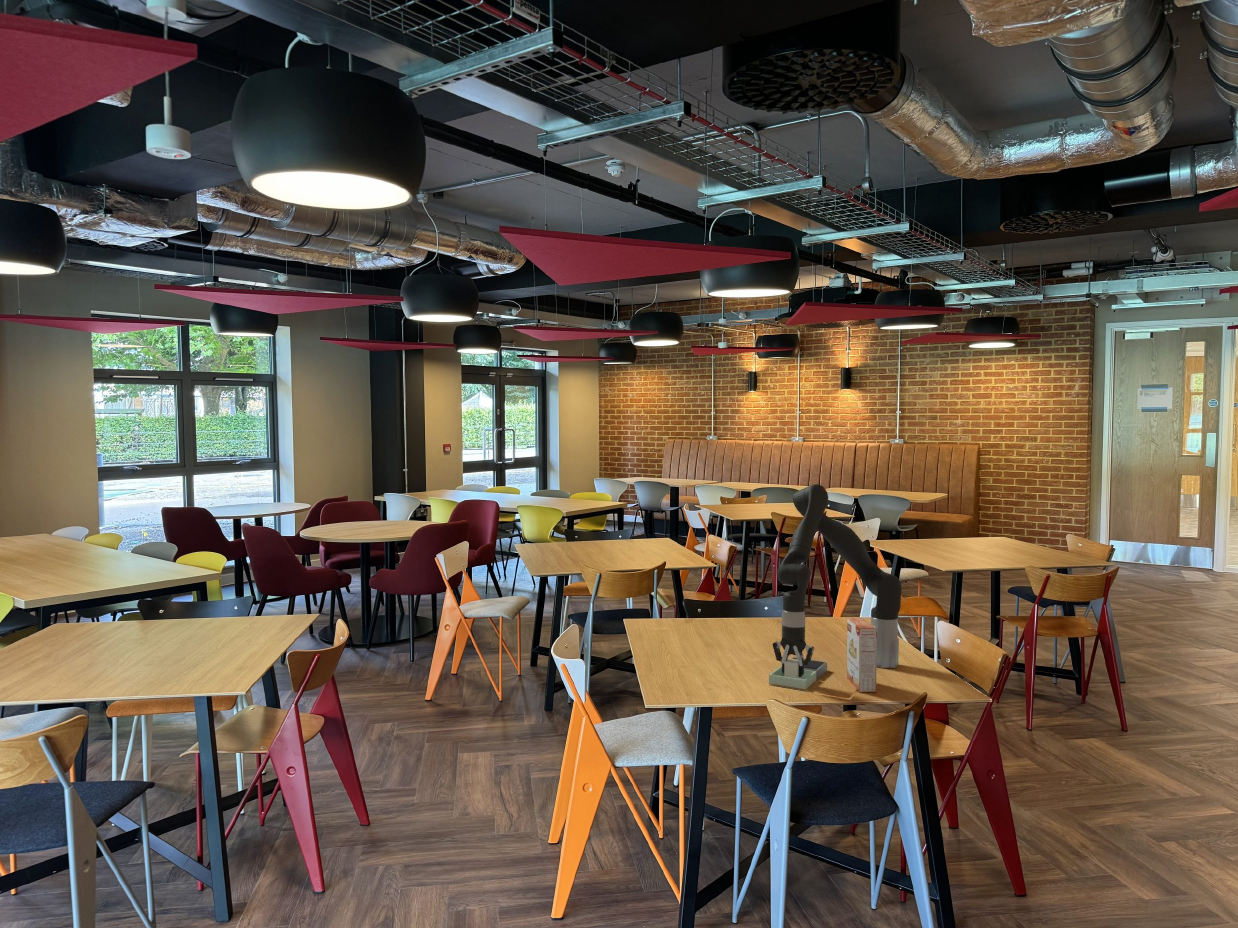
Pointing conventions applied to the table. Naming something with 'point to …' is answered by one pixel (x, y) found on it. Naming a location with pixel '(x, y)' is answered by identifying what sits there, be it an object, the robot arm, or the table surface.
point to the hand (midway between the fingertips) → (792, 674)
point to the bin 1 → (792, 679)
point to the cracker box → (861, 654)
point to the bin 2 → (816, 667)
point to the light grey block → (791, 668)
